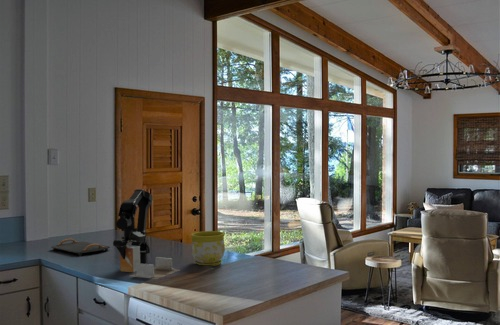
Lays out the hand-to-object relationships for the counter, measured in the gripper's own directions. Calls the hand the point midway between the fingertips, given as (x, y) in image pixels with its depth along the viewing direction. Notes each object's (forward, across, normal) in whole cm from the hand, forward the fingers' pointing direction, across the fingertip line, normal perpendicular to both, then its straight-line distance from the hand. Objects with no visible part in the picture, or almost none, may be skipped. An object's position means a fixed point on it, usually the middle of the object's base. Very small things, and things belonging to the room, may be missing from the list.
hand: (130, 257), depth 269 cm
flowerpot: (+8, +30, -28) cm, 42 cm away
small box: (+8, 0, 0) cm, 8 cm away
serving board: (+8, +34, +69) cm, 77 cm away
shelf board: (+8, 0, -16) cm, 17 cm away
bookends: (+7, 0, -16) cm, 17 cm away
